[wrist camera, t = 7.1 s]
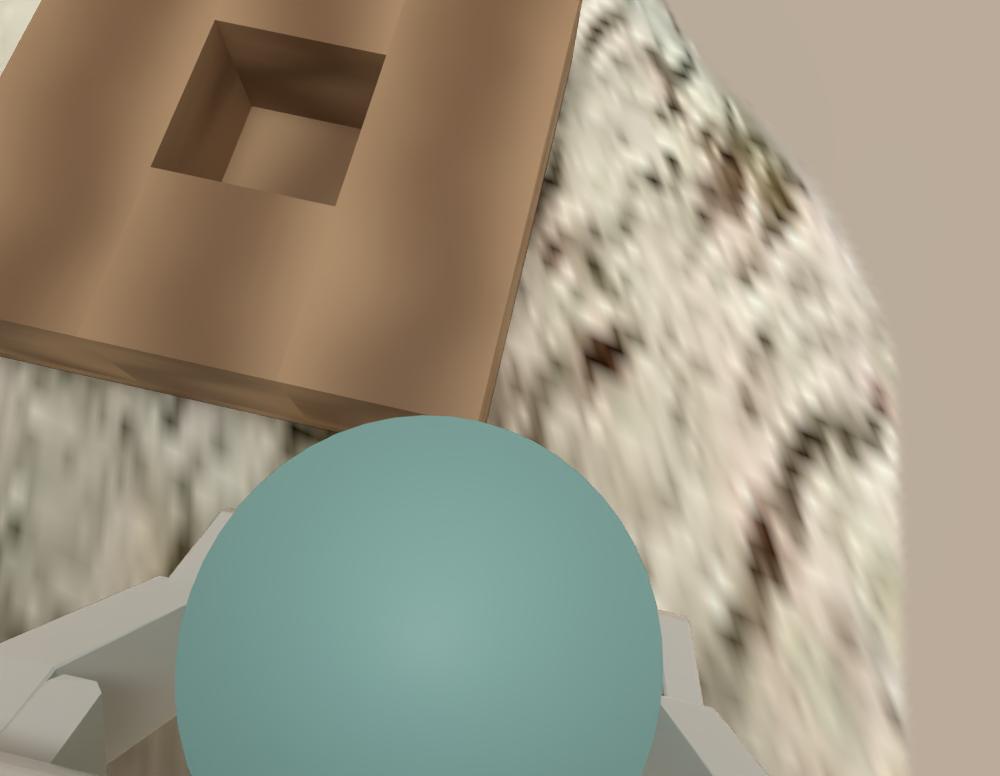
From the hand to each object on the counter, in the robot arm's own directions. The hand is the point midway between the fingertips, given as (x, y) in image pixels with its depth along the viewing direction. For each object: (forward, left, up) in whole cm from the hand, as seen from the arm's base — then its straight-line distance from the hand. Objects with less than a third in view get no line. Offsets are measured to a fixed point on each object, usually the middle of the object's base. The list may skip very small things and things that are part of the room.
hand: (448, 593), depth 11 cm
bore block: (-9, +12, -11) cm, 19 cm away
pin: (0, -1, -6) cm, 6 cm away
